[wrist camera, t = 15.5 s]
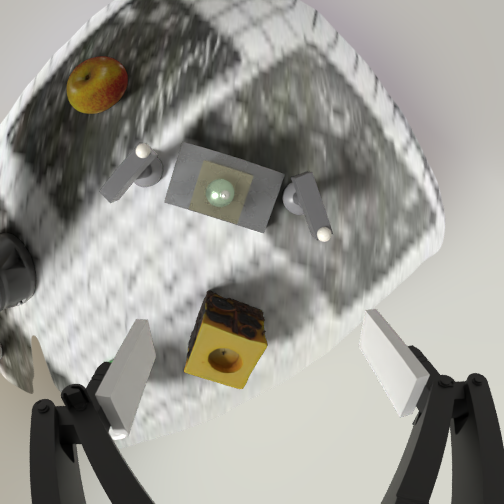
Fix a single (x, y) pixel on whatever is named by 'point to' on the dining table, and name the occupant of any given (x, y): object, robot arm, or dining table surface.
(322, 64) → the dining table surface
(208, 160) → the level base
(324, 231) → the knob
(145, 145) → the knob
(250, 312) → the candle
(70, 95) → the fruit
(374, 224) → the dining table surface
